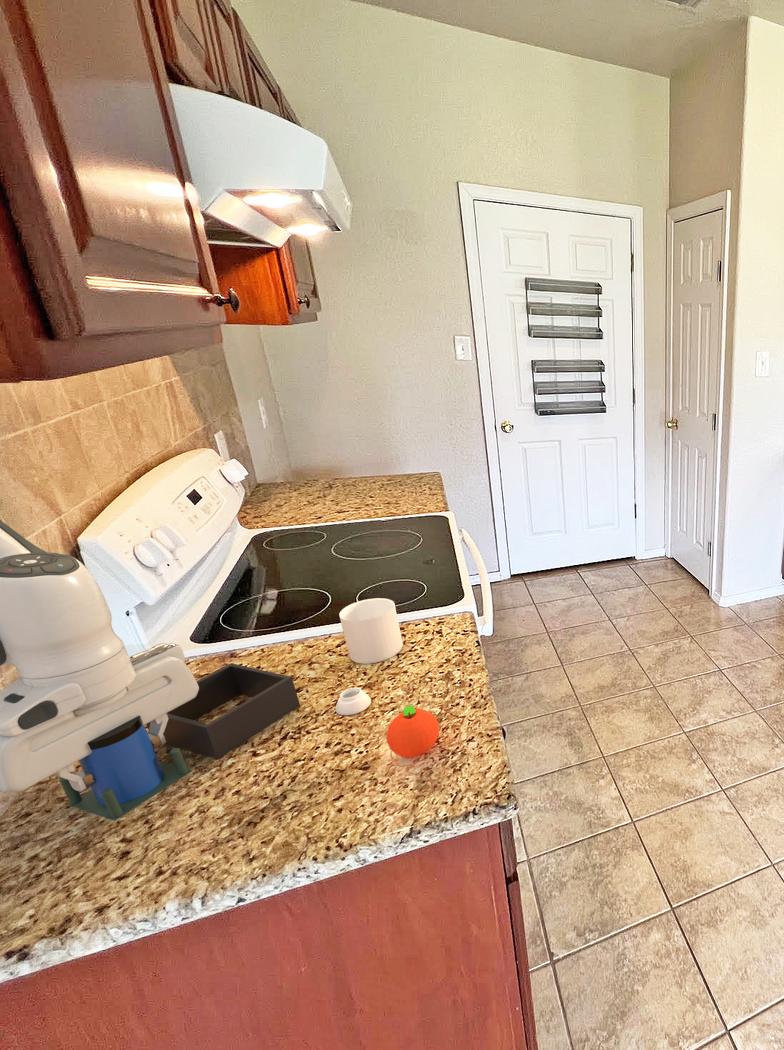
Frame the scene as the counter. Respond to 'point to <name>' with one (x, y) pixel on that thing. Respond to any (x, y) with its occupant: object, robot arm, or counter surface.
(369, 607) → the mug
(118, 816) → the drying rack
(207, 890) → the counter surface
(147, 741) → the travel mug
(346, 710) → the small white bowl
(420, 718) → the clementine
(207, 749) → the dark brown open bin
